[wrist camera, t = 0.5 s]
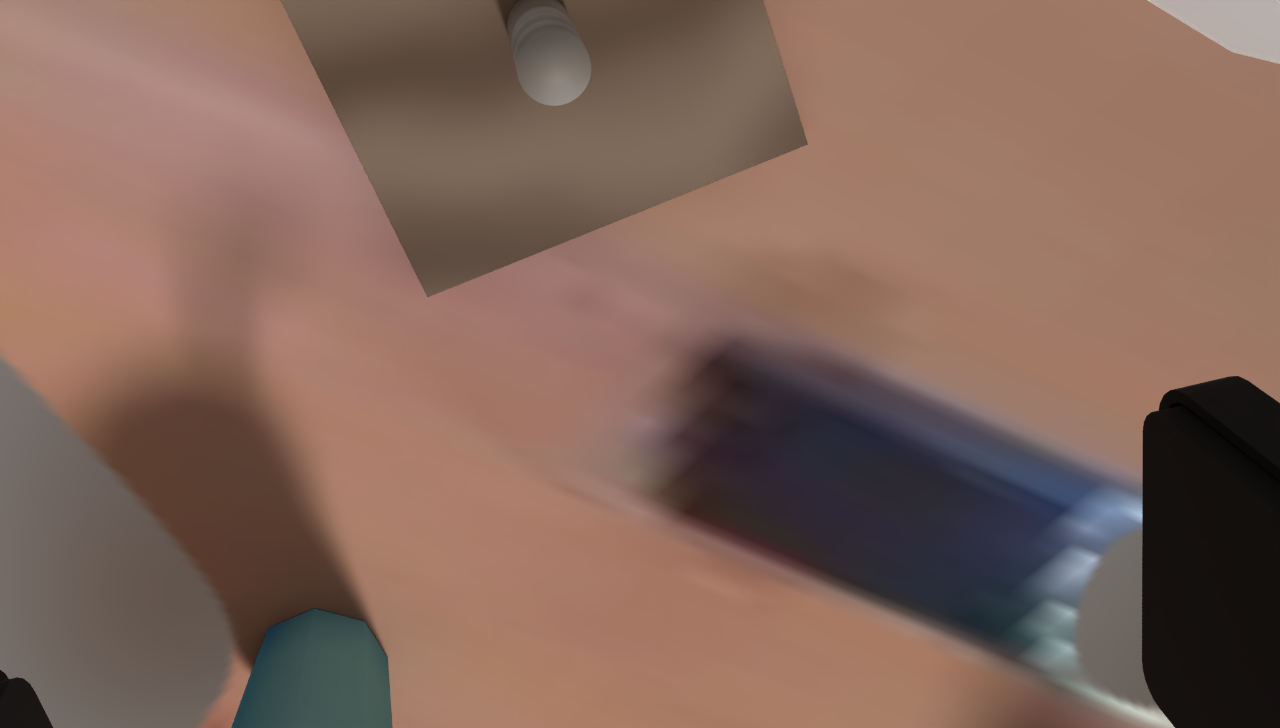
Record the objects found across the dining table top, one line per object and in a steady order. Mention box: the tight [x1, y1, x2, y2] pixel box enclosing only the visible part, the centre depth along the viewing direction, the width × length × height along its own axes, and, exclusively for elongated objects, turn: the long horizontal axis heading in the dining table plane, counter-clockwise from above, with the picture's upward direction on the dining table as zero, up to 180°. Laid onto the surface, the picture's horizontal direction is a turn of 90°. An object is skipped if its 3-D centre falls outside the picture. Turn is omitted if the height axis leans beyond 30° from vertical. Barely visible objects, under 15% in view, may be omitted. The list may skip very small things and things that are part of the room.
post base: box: [281, 0, 808, 297], centre depth 36 cm, size 14×14×8 cm
